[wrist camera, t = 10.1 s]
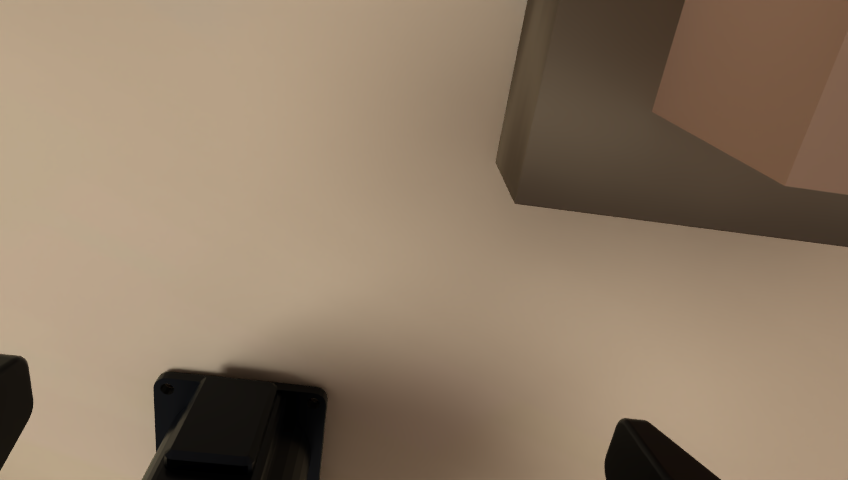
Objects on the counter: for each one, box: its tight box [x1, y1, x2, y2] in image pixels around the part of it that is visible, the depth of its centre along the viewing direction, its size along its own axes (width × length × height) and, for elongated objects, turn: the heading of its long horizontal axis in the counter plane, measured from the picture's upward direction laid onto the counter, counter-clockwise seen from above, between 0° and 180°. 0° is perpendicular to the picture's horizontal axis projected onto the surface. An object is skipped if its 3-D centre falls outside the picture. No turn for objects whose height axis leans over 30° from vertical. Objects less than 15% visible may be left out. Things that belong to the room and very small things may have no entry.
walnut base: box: [496, 0, 848, 247], centre depth 16 cm, size 12×12×4 cm
